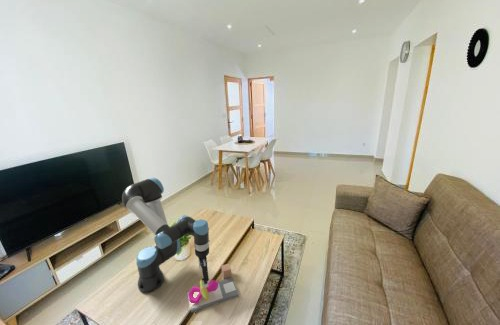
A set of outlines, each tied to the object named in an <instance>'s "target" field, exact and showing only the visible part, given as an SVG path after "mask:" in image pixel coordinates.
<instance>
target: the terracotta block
mask: <svg viewBox="0 0 500 325" xmlns="http://www.w3.org/2000/svg"><path fill="white" fill-rule="evenodd" d="M230 265H231V264H230V263H226V264H222V265H221V276H222V278H223V279H222V280H225V279H228V278H231V277H232V268H231V266H230Z"/></svg>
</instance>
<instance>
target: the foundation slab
mask: <svg viewBox="0 0 500 325" xmlns="http://www.w3.org/2000/svg"><path fill="white" fill-rule="evenodd" d="M217 282H218V288H217V289H216V291H211V292H208V293H209V300H205V299H204V298H203V296H202V297H201V299H200V300H199V302H198V304H197V303H195V304H194V305H193V306H192V308H191V309H190V313H196V312H197V311H200V310H203V309H205V308H208V307H211V306H215V305H217V304H221V303H223V302H225V301H228V300H229V301H230V300H232V299H234V298H238V297H240V292H239V291H238V288H237V285H236V283H235V280H234V277H232V276H231V278H228V279H222V280H218V281H217ZM189 292H190V290H188V291H187V298H188V299H187V300H188V302H189V301H190V300H189V295H188V293H189Z"/></svg>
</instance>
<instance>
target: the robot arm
mask: <svg viewBox="0 0 500 325" xmlns="http://www.w3.org/2000/svg"><path fill="white" fill-rule="evenodd" d="M164 190H165V188H164V186H163V184H162V182H161V181H160V180H159V179H158V178H157V177H151V178H146V179H144V180H141V181H138V182H134V183H132V184H130V185H128V186H127V187H125V189H124V190H123V192H122V195H121V200H122V204H123V207H124V208H125V209H126V210H127V211H129V212H132V213H133V214H134V215H135V217H137V218H138V219H139V220H140V221H141V222H142V223H143V224H144V226H145V227H146V228H148V229H149V231H151V233H153V235H154V238H153V239H154V243H155V246H146V247H145V248H143V249H141V250H140V251H139V252H138V253H137V255H136V266H137V271H138V280H137V288H138V290H139V291H140V292H142V293H143V294H144V293H148V294H149V293H153V292H154V291H156V290H158V289H159V288H160V287H161V286H162V285H163V284H164V281H165V277H164V276H165V275H164V273H163V271H162V269H160V266H161V265H162V264H164V263H165V262H167V261H168V260H170V259H172V258H173V257H174V256H175V255H177V254H178V253H179V252H180V251H181V242H180V239H181V238H183V237H185V236H186V235H190V236H192V237H193V241H194V242H193V244H194V254H195V256H196V257H197V258H198V269H199V270H200V269H201V271H202V272H201V274H202V278H201V280H202V281H203V288H205V287H208V283H209V282H210V278H209V273H208V272H209V271H208V260H207V259H208V258H207V256H208V255H210V254H209V253H210V242H211V240H210V235H209V223H208V221H207V220H206V219H197V220H195V219H194V218H193V217H192V216H188V215H181V216H180V217H179V218H178V220H177V222H176V223H175V224H173V225H171V226H170V225H169V224H168V220H167V217H166V214H165V210H164V208H163V204H162V201H161V200H162V199H163V195H162V194H163V193H164Z"/></svg>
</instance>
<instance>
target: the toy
mask: <svg viewBox="0 0 500 325" xmlns="http://www.w3.org/2000/svg"><path fill="white" fill-rule="evenodd" d="M218 282H219V281H216V280H215V279H211V280H209V281H208V287H205V288H203V280H202V279H200V281H199V287H198V286H192V288H191V289H190V290H189V291H190V292H189V293H188V292H187V296H188V295H189V300H190V302H191V303H197V304H198V302H199V300H200V299H201V297H202V296H203V298H204V299H205V300H209V293H208V292H211V291H216V289H217V288H218ZM194 292H199V294H198V295H197V297H196V298H194V297H193V294H194ZM189 300H188V301H189Z"/></svg>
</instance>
